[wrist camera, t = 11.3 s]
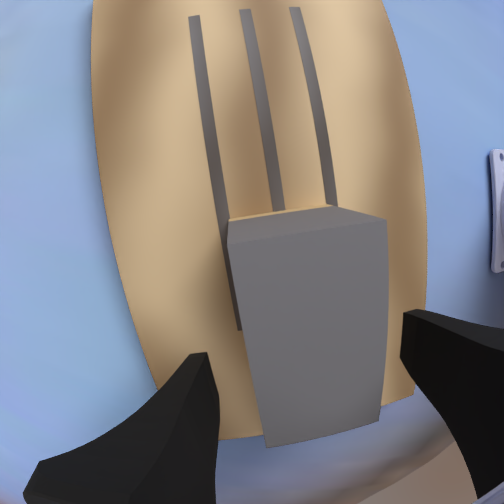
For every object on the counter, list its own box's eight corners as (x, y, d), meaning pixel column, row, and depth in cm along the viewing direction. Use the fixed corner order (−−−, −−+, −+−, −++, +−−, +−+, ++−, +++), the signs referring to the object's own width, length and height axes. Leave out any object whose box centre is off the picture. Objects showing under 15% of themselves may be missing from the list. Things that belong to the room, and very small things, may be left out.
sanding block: (327, 204, 12) (386, 219, 7) (337, 352, 14) (378, 420, 9) (228, 219, 12) (227, 244, 7) (255, 369, 13) (266, 448, 9)
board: (350, -36, 10) (359, -49, 9) (402, 381, 16) (413, 394, 15) (104, -12, 10) (96, -25, 8) (183, 425, 16) (181, 443, 14)
